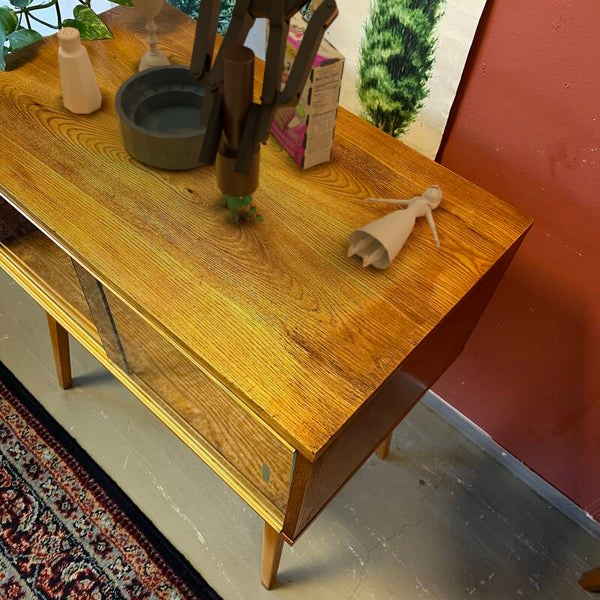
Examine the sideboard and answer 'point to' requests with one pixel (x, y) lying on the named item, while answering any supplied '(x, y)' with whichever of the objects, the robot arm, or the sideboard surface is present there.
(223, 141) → the pestle
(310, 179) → the sideboard surface
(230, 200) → the figurine
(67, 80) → the pepper shaker
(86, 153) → the sideboard surface
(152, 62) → the chalice
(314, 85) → the candy bar box
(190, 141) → the bowl
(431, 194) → the woman figurine
